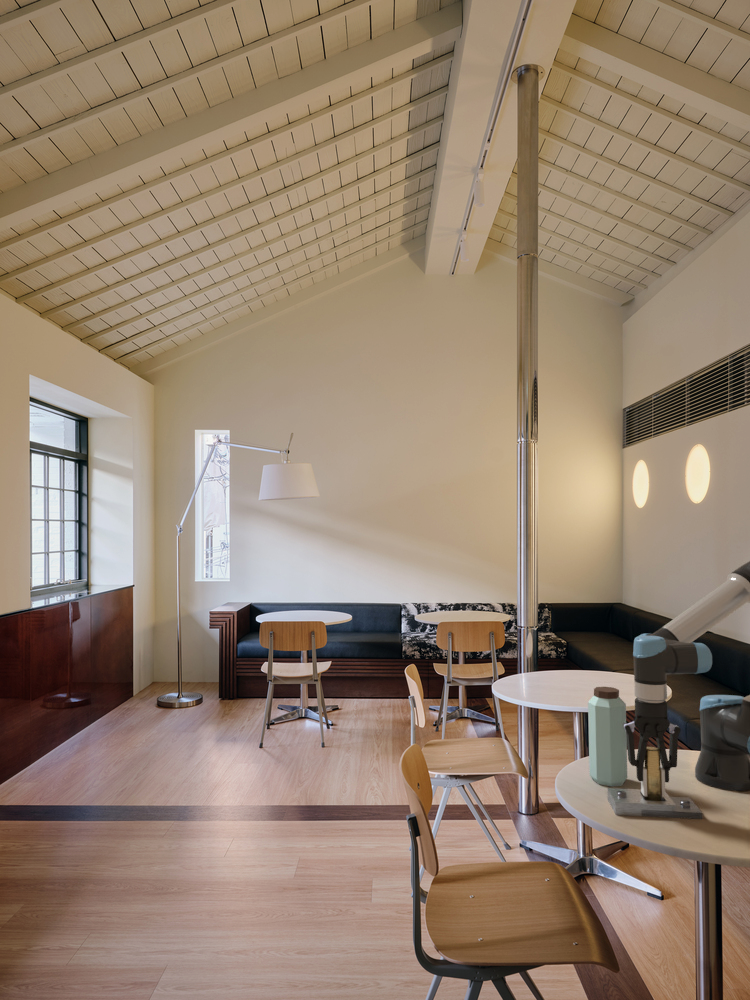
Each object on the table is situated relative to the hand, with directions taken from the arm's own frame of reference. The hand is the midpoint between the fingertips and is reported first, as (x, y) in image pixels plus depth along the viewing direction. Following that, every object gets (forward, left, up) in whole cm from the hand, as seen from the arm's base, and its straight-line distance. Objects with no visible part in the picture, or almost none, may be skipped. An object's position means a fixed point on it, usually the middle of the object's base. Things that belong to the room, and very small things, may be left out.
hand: (653, 794), depth 163 cm
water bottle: (+7, -18, -4) cm, 20 cm away
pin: (0, 0, -3) cm, 3 cm away
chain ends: (0, 0, -4) cm, 4 cm away
